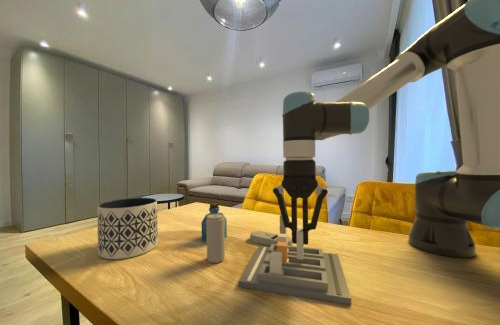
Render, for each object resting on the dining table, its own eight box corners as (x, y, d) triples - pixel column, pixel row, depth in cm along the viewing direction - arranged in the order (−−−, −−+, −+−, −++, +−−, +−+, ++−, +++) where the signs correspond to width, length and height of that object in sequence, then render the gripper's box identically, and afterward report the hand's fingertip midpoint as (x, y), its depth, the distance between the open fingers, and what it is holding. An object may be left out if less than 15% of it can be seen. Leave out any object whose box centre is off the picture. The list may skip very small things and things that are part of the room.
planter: (166, 247, 65) (165, 201, 65) (106, 267, 54) (105, 211, 54) (146, 235, 76) (145, 196, 76) (92, 249, 65) (91, 202, 65)
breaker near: (283, 274, 47) (283, 252, 47) (282, 280, 45) (282, 257, 45) (270, 272, 48) (270, 251, 48) (268, 278, 46) (268, 255, 46)
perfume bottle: (201, 240, 71) (201, 205, 71) (211, 234, 77) (211, 201, 77) (217, 243, 69) (217, 206, 69) (226, 236, 74) (226, 203, 74)
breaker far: (288, 252, 59) (288, 234, 59) (287, 255, 56) (287, 237, 56) (277, 250, 59) (277, 233, 59) (276, 254, 57) (276, 236, 57)
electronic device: (255, 209, 75) (294, 215, 66) (256, 237, 75) (295, 246, 66) (246, 212, 71) (285, 219, 62) (247, 241, 71) (287, 252, 62)
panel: (337, 258, 57) (337, 248, 57) (351, 304, 39) (351, 290, 39) (259, 249, 63) (259, 240, 63) (238, 286, 45) (238, 274, 45)
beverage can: (209, 265, 54) (209, 219, 54) (204, 258, 58) (204, 214, 58) (227, 261, 56) (227, 216, 56) (221, 254, 61) (220, 212, 60)
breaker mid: (288, 262, 53) (288, 242, 53) (288, 267, 50) (287, 246, 50) (276, 261, 53) (276, 241, 53) (275, 265, 51) (275, 245, 51)
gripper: (326, 158, 52) (327, 253, 53) (274, 159, 56) (275, 247, 56) (329, 158, 45) (330, 267, 45) (269, 159, 49) (270, 260, 49)
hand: (300, 256), depth 51 cm, fingers closed
